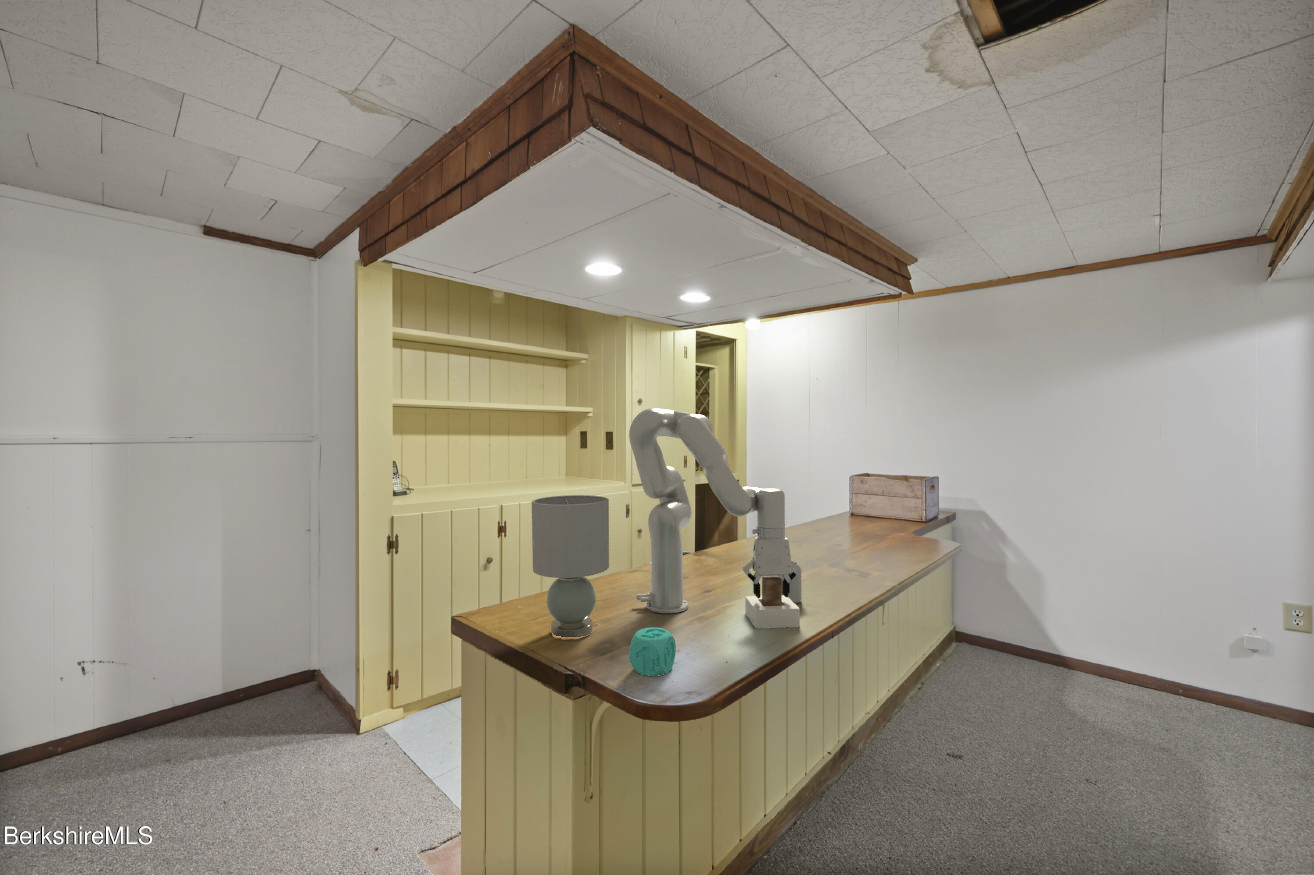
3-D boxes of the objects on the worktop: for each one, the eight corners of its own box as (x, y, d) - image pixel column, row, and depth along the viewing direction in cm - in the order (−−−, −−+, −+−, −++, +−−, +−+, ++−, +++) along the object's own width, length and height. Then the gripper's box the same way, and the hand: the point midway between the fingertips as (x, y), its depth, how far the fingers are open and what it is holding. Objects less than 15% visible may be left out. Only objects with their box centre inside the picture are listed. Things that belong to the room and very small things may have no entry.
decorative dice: (629, 673, 122) (628, 637, 121) (644, 659, 129) (644, 625, 129) (662, 679, 118) (661, 642, 118) (676, 664, 126) (675, 629, 125)
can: (802, 605, 166) (802, 566, 166) (776, 604, 168) (776, 565, 167) (800, 598, 173) (800, 560, 173) (776, 596, 175) (776, 559, 175)
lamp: (565, 654, 132) (563, 507, 131) (517, 633, 145) (516, 500, 145) (625, 631, 147) (624, 498, 146) (577, 614, 160) (576, 493, 160)
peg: (765, 623, 152) (765, 579, 151) (761, 617, 156) (762, 575, 156) (781, 622, 152) (781, 579, 152) (777, 617, 156) (777, 575, 156)
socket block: (755, 628, 147) (755, 610, 147) (745, 613, 159) (745, 596, 159) (799, 627, 148) (799, 608, 148) (786, 612, 160) (786, 595, 160)
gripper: (743, 536, 149) (743, 601, 149) (806, 534, 150) (806, 599, 151) (737, 531, 157) (737, 593, 157) (797, 529, 158) (797, 591, 158)
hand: (771, 595), depth 154 cm, fingers open, 7 cm apart
